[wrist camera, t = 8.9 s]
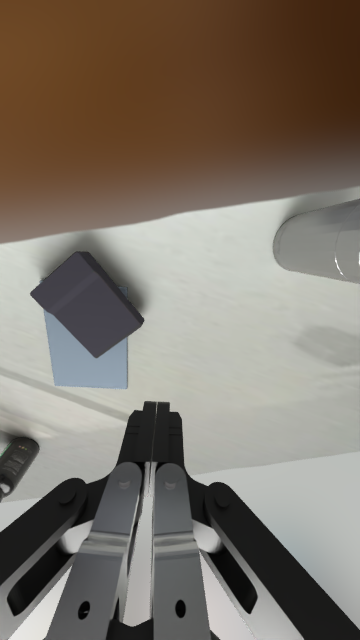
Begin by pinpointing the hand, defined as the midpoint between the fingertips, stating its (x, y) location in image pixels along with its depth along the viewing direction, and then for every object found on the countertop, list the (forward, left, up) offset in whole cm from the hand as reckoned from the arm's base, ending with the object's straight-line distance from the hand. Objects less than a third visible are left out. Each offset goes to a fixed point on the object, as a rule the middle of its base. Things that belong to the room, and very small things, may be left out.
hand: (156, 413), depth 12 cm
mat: (+15, +9, -27) cm, 32 cm away
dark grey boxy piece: (+8, +7, -24) cm, 26 cm away
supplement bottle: (+32, +39, -27) cm, 57 cm away
